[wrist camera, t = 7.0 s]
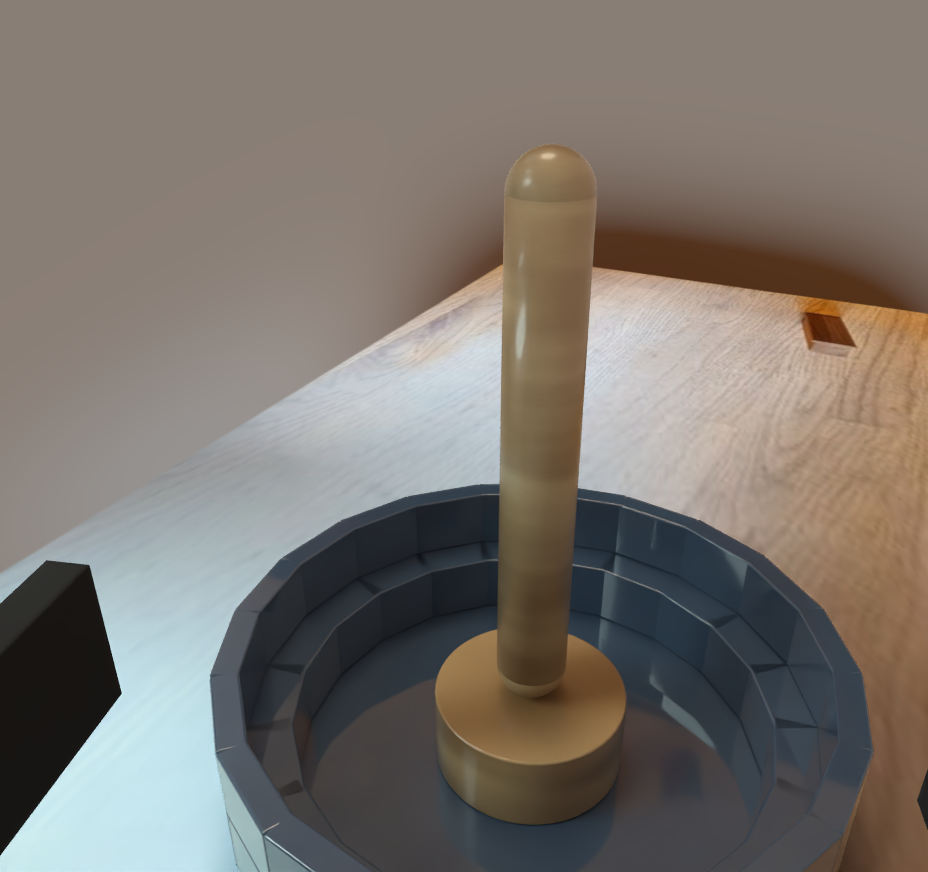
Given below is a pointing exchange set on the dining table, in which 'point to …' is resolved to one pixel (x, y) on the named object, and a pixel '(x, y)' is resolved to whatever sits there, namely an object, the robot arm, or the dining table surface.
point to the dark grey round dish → (591, 619)
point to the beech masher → (537, 533)
